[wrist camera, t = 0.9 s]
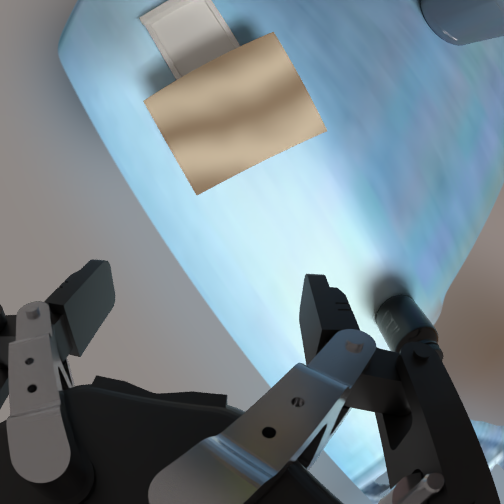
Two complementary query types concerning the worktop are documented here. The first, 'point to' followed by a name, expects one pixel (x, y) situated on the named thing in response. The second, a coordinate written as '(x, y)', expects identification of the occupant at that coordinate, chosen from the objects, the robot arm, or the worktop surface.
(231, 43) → the white pull-out drawer
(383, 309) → the supplement bottle
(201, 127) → the small wooden table
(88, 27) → the worktop surface
